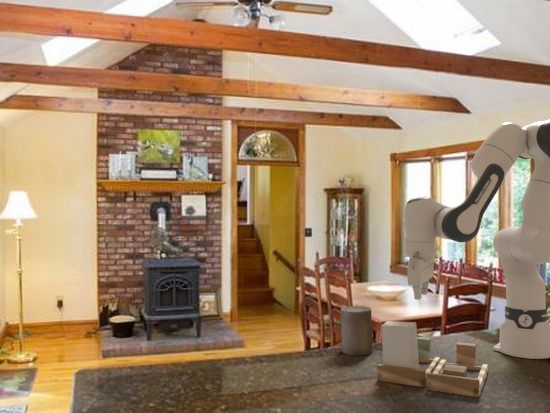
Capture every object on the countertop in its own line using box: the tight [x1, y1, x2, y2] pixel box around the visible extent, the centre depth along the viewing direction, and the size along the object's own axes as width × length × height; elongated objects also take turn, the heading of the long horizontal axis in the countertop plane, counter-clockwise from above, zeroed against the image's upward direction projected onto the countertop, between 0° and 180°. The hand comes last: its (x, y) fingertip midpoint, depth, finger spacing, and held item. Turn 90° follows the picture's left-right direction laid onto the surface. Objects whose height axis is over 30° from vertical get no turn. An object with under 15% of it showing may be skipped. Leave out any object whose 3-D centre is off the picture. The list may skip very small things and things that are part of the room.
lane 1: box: [376, 336, 442, 388], centre depth 149 cm, size 27×12×6 cm, turn 153°
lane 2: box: [426, 341, 489, 398], centre depth 141 cm, size 27×12×6 cm, turn 153°
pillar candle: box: [340, 304, 373, 357], centre depth 168 cm, size 10×10×15 cm
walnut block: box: [442, 364, 468, 377], centre depth 134 cm, size 5×5×5 cm
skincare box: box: [381, 320, 420, 369], centre depth 141 cm, size 8×6×15 cm
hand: (421, 296), depth 160 cm, fingers open, 8 cm apart
